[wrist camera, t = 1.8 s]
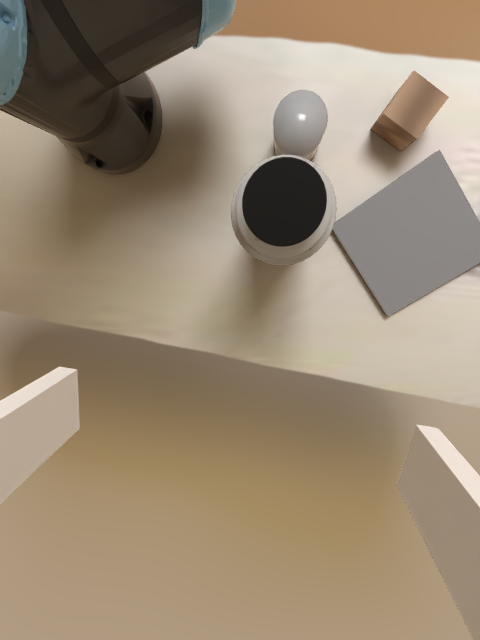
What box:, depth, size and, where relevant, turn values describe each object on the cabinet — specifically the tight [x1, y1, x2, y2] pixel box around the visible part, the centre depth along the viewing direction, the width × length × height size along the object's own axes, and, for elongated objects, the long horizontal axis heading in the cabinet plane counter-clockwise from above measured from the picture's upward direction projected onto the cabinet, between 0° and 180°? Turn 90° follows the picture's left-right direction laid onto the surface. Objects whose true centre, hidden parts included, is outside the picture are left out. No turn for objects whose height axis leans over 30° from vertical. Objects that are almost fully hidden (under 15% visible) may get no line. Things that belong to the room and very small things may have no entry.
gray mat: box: [332, 150, 480, 316], centre depth 41 cm, size 16×16×1 cm
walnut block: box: [371, 71, 449, 151], centre depth 36 cm, size 5×5×5 cm
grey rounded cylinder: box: [273, 90, 328, 161], centre depth 37 cm, size 6×6×8 cm
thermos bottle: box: [231, 155, 337, 265], centre depth 30 cm, size 8×8×28 cm
